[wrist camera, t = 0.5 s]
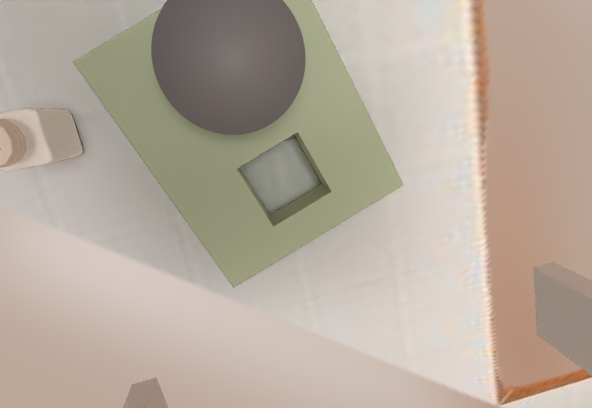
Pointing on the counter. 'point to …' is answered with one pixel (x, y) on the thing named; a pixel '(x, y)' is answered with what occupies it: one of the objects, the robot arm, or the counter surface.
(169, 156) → the green knob base
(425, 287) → the counter surface
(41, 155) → the pepper shaker
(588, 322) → the robot arm
